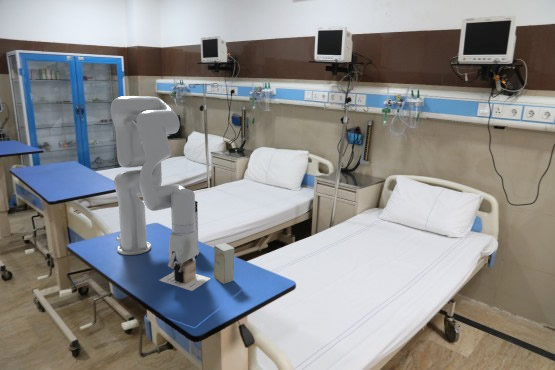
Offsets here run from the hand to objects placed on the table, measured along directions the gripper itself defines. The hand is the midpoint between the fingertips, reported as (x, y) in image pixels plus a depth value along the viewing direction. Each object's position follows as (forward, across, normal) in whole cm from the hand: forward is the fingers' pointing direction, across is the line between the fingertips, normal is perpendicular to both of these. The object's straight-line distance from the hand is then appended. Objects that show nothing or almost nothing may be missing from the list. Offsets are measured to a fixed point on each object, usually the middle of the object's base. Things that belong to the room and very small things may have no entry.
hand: (185, 277), depth 133 cm
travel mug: (+1, -20, -14) cm, 24 cm away
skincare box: (+1, -7, +11) cm, 13 cm away
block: (+1, 0, 0) cm, 1 cm away
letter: (+1, 0, 0) cm, 1 cm away
